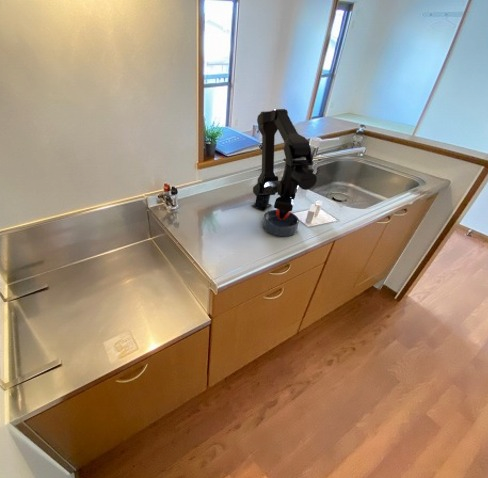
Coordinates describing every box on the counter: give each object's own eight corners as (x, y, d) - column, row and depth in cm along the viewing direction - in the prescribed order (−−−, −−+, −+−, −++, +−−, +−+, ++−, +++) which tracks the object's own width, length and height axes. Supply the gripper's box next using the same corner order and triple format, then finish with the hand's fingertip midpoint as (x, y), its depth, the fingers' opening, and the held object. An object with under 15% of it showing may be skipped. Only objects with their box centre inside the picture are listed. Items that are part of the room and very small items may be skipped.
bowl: (273, 215, 116) (275, 206, 114) (302, 227, 109) (305, 218, 106) (256, 227, 109) (257, 218, 106) (285, 241, 101) (288, 231, 99)
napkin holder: (308, 227, 109) (312, 214, 106) (291, 213, 118) (294, 201, 114) (337, 220, 113) (342, 208, 110) (318, 207, 122) (322, 196, 119)
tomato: (279, 213, 109) (281, 201, 106) (290, 217, 106) (293, 206, 103) (272, 217, 106) (274, 206, 103) (283, 222, 103) (286, 210, 100)
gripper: (272, 165, 106) (265, 200, 115) (262, 183, 92) (256, 222, 101) (302, 169, 102) (293, 205, 111) (297, 189, 88) (287, 229, 98)
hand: (282, 215), depth 105 cm, fingers closed on tomato, 5 cm apart
